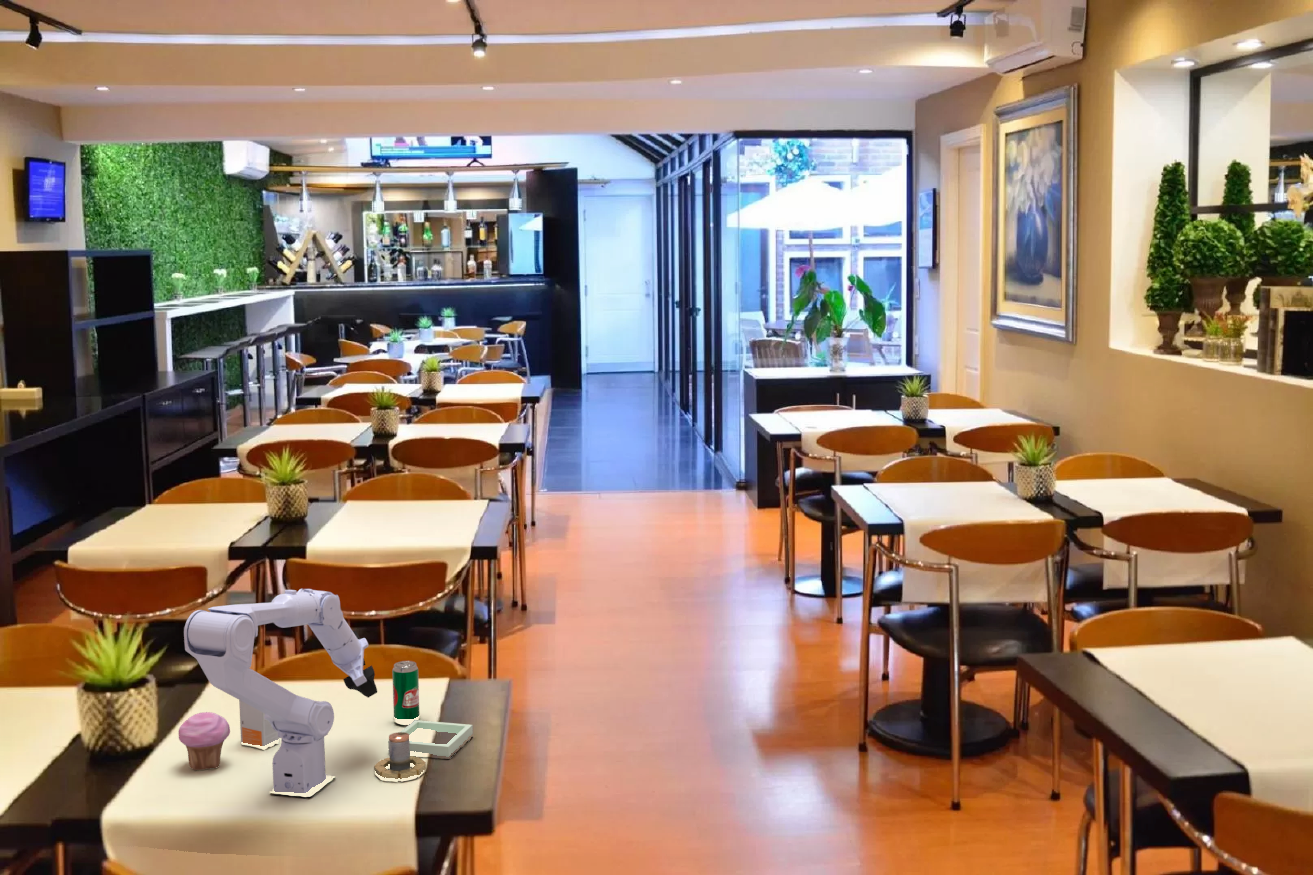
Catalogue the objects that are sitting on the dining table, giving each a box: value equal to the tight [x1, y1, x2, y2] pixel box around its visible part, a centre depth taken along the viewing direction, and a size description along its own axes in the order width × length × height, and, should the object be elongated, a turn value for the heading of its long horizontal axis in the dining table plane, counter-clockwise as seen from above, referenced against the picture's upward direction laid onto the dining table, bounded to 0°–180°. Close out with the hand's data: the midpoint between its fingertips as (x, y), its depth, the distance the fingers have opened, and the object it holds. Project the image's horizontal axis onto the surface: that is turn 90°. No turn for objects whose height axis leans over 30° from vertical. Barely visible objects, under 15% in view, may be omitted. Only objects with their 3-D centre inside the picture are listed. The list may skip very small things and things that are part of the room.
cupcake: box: [178, 711, 231, 771], centre depth 243 cm, size 9×9×10 cm
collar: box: [373, 756, 427, 779], centre depth 240 cm, size 9×9×2 cm
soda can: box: [391, 660, 420, 719], centre depth 265 cm, size 5×5×12 cm
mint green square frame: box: [387, 719, 474, 757], centre depth 253 cm, size 12×12×2 cm
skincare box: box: [238, 699, 280, 746], centre depth 253 cm, size 6×4×12 cm
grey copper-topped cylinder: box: [388, 731, 411, 771], centre depth 239 cm, size 4×4×7 cm
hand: (366, 679), depth 250 cm, fingers open, 7 cm apart
